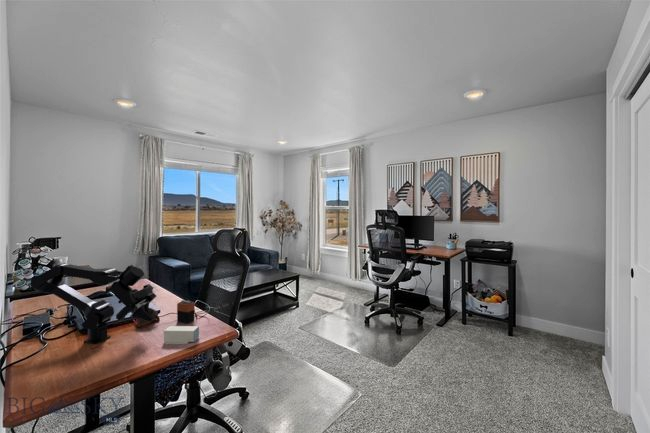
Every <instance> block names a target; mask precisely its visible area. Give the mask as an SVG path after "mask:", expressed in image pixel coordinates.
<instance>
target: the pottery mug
mask: <svg viewBox="0 0 650 433" xmlns="http://www.w3.org/2000/svg"><path fill="white" fill-rule="evenodd" d="M149 310H150V312H151V314H152V317H153V320H152V321H151V322H150V321H147V320H144V319H140V318H136V326H137V327H138V328H140V327H141V326H145V325H148V324H150V323H152V322H153V321H160V316H159V313H158V311H157V310H156V309H155V308H152V307H149Z"/></svg>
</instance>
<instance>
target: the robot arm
mask: <svg viewBox="0 0 650 433" xmlns="http://www.w3.org/2000/svg"><path fill="white" fill-rule="evenodd" d="M144 276H145V273H144V270H143V269H142V268H139V267H137V266H134V265H133V264H130V265H128V266H126V268H125V270H123V271H119V270H118V269H117V268H113V267H112V268H111V267H108V268H107V267H106V268H94V267H88V266H81V265H76V264H70V263H66V262H64V263H59V264H56V265H54V266H53V267H52V268H51V267H50V269H47V270H46V271H44V272H42V273H40V274H38V275H34V276H33V277H32V278H31V279H30V288H32V289H34V290H36V291H38V292H41V293H46V294H52V295H54V296H56V297H58V298H59V299H61V300H63V301H64V302H66V303H68V304H69V305H71V306H72V307H75V308H76V309H78V310H80V311H81V312H82V313H83V315H84V318H85V319H86V320H85V321H84V322H82V323H81V326H82V329H83V330H87V338H86V339H84V340H83V342H84V343H90V344H94V345H95V344H98V343H100V342H102V341H105V340H107V339H109V338H111V337H112V336H111V335H110V334H108V324H107V322H110V321H112V320H111V319H112V317H113V316H114V314H115V308H114V307H113V306H112V303H109V302H107V301H106V300H104V299H101V300H98V301H94V300H92V299H91V298H89V297H87V296H86V295H84V294H82V293H81V292H79V291H77V290H75V289H74V288H72V287H71V286H69V285H67V284H66V283H65V281H64V280H63V278H64V277H74V278H77V279H78V278H79V279H83V280H85V279H86V280H88V281H91V282H92V283H93V284H95V285H99V286H102V287H103V286H106V285H108V286H106V287H105V289H104V290H105V291H104V294H105V295H107V294H110V293H112V294H113V295H114V296H115V297H116V298H117V300H118V301H117V303H118V304H122V305H124V307H123V308H121V309H120V310H119V311H118V312H117V313H116V314H115V318H116V320H117V321H118V322H121V321H123V320H124V319H125V318H126V316H127V315H128V314H129V313H130V314H131V315H130V316H129V317H130V318H136V319H137V318H139V319H144V320H147V321H150V323H152V322H153V321H154V320H153V317H152V314H151V312H150V310H149V308H150V306H149V305H150V304H151V302H152V301H153V300H154V299H156V297H157V295H156V294H155V293H154V292H153V290H154V286H153V285H151V284H150V283H147V284H145V285H143V287H142V288H141V289H140V290H138V289H137V288H135V289H133V288H132V287H133V286H135V285H136V283H138V282H139V281H140V280H141V279H142V278H143V277H144ZM152 320H153V321H152ZM151 321H152V322H151Z"/></svg>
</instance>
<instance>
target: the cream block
mask: <svg viewBox="0 0 650 433" xmlns="http://www.w3.org/2000/svg"><path fill="white" fill-rule="evenodd" d="M199 335H200V326H199V325H198V326H197V325H196V326H195V325H189V326H188V325H185V326H184V325H170V326H168V327H167V328H165V329H164V330H163V342H164V343H165V342H190V343H192V342H193V343H195V342H196V341H197V340H198V338H199Z"/></svg>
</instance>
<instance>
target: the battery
mask: <svg viewBox="0 0 650 433" xmlns="http://www.w3.org/2000/svg"><path fill="white" fill-rule="evenodd" d="M176 311H177V312H176V320H177V323H182V324H186V325H188V324H190V323H192V322H194V321H195V302H193V301H191V300H185V299H182V300H181V301H180V302H177V304H176Z"/></svg>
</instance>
